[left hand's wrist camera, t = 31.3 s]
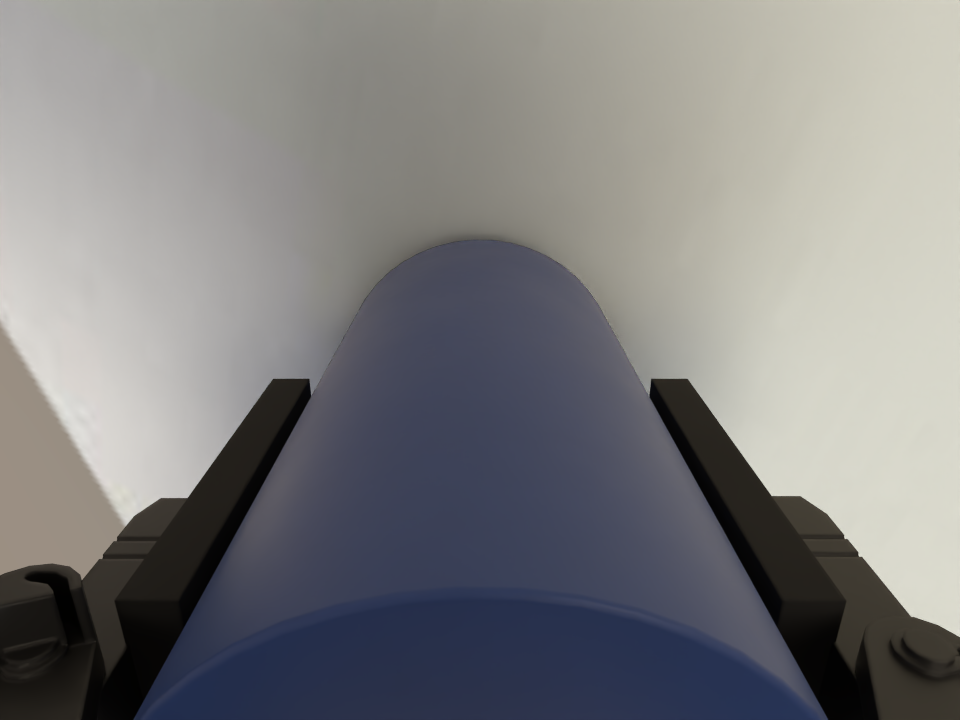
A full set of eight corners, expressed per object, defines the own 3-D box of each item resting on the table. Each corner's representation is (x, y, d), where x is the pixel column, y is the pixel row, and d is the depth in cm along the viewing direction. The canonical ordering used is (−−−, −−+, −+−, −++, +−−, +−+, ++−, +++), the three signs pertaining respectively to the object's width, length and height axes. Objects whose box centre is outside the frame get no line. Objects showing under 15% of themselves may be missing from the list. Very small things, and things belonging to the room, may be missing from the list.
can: (598, 215, 16) (894, 525, 5) (626, 465, 19) (860, 1062, 7) (314, 266, 17) (-60, 663, 5) (380, 503, 19) (233, 1120, 8)
